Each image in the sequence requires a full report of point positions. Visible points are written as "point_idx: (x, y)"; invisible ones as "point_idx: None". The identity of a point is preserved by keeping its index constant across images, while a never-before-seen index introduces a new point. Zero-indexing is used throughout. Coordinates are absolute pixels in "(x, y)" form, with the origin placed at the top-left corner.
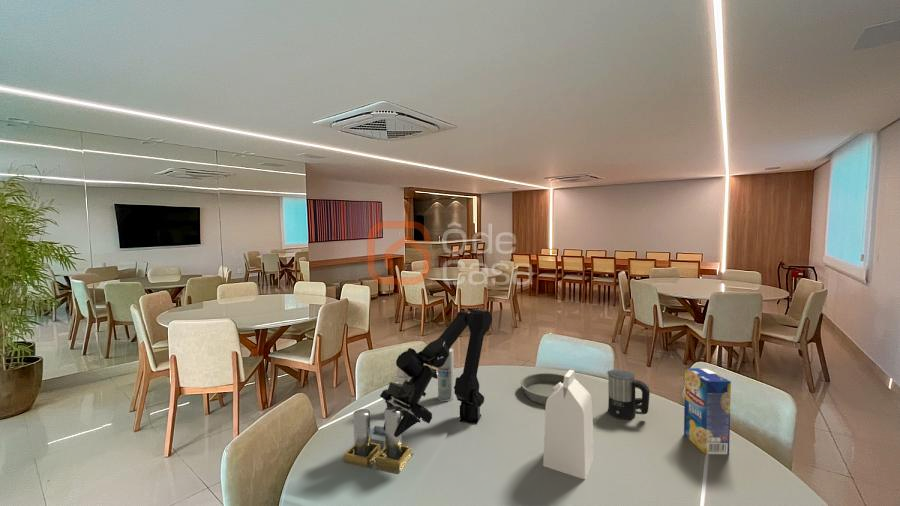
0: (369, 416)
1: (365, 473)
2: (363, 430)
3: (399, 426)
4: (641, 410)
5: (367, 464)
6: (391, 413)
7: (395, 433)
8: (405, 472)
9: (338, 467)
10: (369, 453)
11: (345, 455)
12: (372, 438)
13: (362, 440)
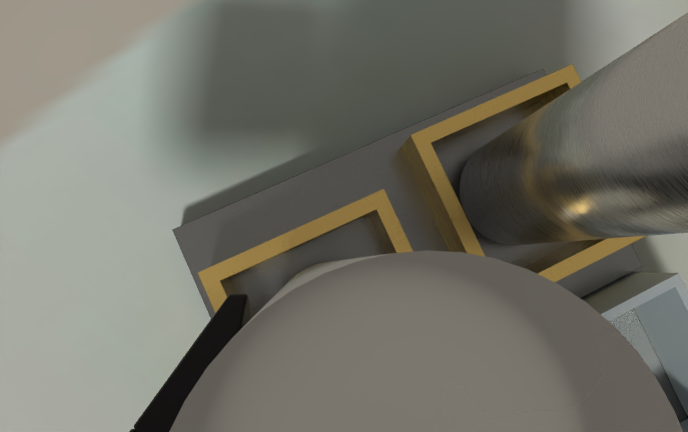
0: None
1: (367, 124)
2: (595, 93)
3: (183, 395)
4: None
5: (403, 151)
6: (276, 351)
7: (227, 310)
8: (186, 297)
9: (529, 53)
10: (473, 206)
11: (557, 71)
12: (605, 316)
13: (537, 119)
